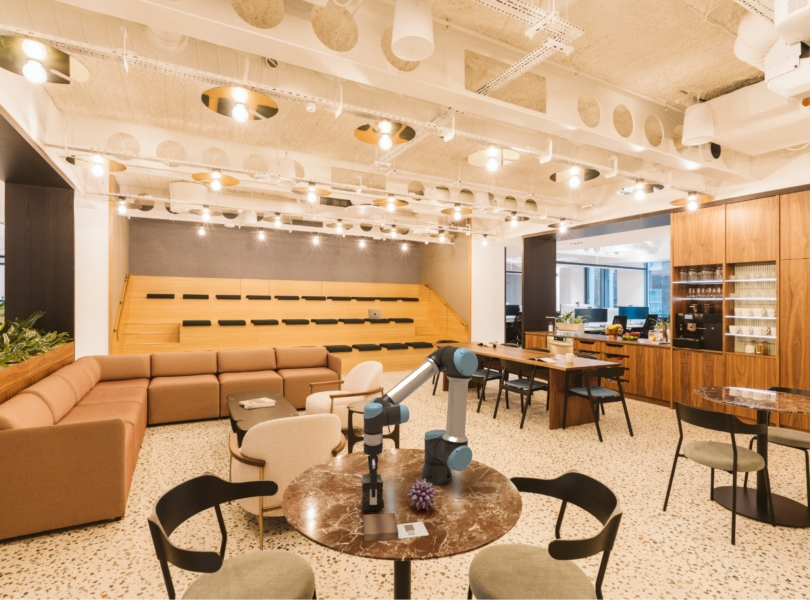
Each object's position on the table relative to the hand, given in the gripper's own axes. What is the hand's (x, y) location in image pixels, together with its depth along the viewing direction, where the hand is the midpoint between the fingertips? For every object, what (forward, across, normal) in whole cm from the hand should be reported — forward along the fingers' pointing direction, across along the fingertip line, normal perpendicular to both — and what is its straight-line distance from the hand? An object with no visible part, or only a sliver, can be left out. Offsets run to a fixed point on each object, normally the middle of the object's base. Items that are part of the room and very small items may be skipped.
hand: (372, 499), depth 165 cm
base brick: (+5, +14, +2) cm, 15 cm away
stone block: (+5, 0, 0) cm, 5 cm away
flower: (+5, 0, +20) cm, 21 cm away
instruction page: (+5, +15, +13) cm, 20 cm away
